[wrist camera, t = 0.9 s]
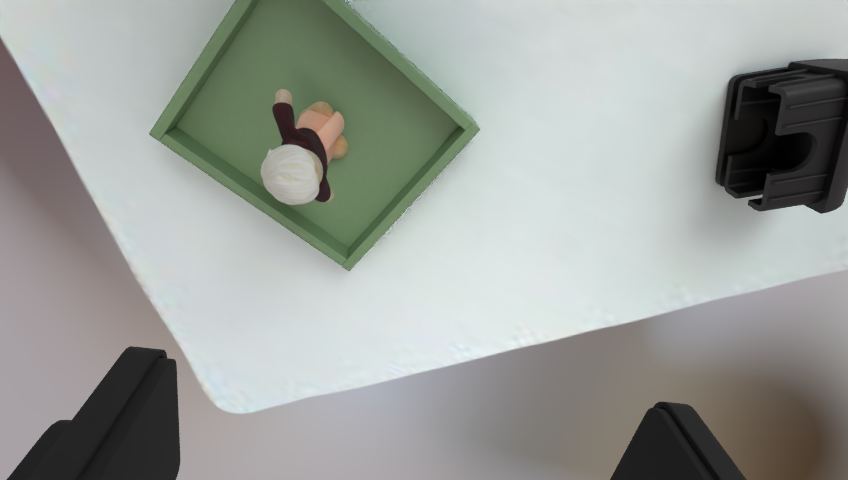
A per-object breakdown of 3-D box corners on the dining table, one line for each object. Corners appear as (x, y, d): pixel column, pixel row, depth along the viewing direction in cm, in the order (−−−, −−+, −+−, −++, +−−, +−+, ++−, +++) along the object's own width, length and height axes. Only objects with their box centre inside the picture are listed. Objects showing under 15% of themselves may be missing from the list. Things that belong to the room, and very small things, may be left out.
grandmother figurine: (369, 155, 37) (361, 225, 26) (328, 179, 38) (302, 257, 27) (313, 64, 34) (275, 99, 23) (268, 91, 35) (210, 138, 23)
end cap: (795, 176, 41) (865, 207, 35) (713, 190, 41) (768, 223, 35) (822, 53, 36) (908, 65, 30) (730, 69, 37) (797, 84, 31)
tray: (162, 126, 36) (148, 134, 34) (282, -57, 31) (274, -61, 29) (351, 257, 42) (349, 271, 40) (475, 121, 37) (480, 129, 35)
